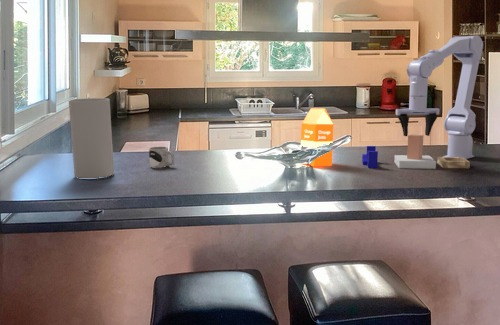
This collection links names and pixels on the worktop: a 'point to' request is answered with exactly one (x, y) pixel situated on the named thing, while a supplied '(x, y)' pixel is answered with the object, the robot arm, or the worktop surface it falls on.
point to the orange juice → (318, 134)
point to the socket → (453, 162)
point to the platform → (415, 162)
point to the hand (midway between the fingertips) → (416, 135)
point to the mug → (160, 157)
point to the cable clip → (370, 157)
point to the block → (415, 147)
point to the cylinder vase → (91, 137)
